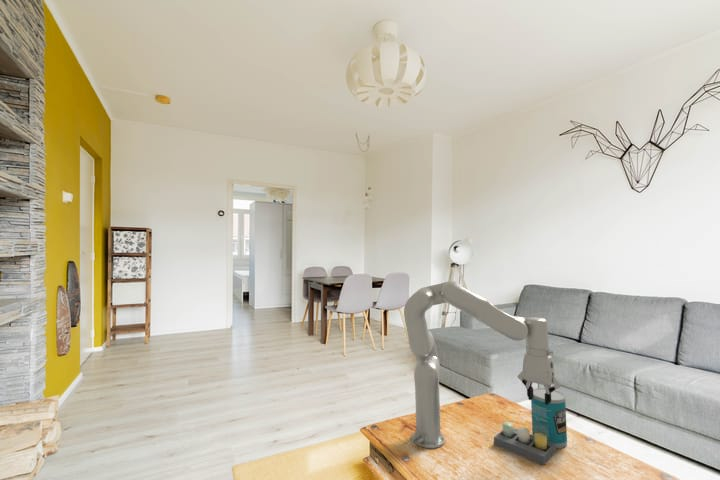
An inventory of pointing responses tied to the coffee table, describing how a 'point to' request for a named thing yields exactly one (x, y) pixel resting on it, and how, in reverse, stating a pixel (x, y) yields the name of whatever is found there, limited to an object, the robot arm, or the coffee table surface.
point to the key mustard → (540, 441)
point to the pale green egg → (508, 429)
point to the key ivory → (523, 435)
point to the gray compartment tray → (525, 447)
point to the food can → (549, 416)
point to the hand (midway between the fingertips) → (539, 400)
